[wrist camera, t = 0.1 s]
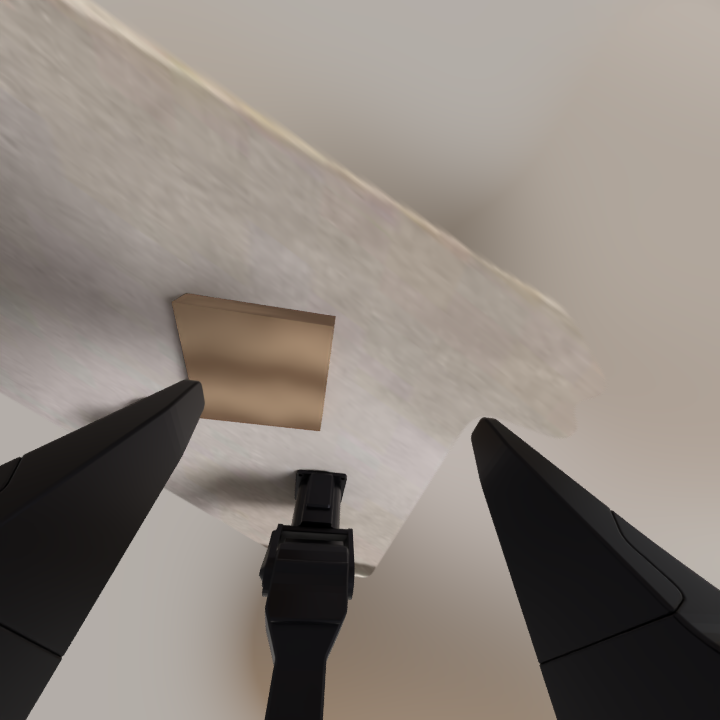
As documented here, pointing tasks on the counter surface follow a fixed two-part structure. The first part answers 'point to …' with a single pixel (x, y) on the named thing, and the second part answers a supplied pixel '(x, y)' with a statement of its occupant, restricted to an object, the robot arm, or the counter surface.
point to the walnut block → (256, 360)
